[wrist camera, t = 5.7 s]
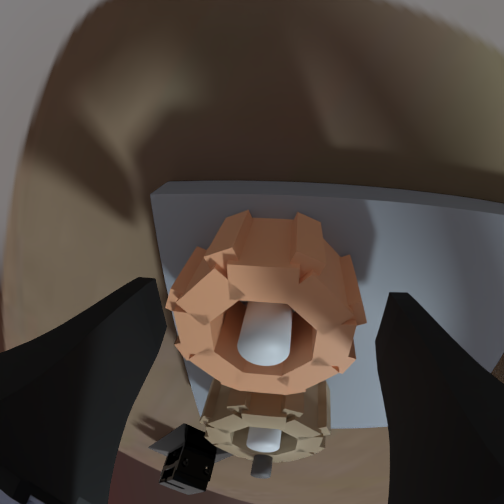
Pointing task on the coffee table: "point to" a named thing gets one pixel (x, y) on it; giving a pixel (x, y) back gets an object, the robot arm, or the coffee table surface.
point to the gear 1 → (272, 291)
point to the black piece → (187, 459)
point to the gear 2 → (267, 422)
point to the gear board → (366, 269)
